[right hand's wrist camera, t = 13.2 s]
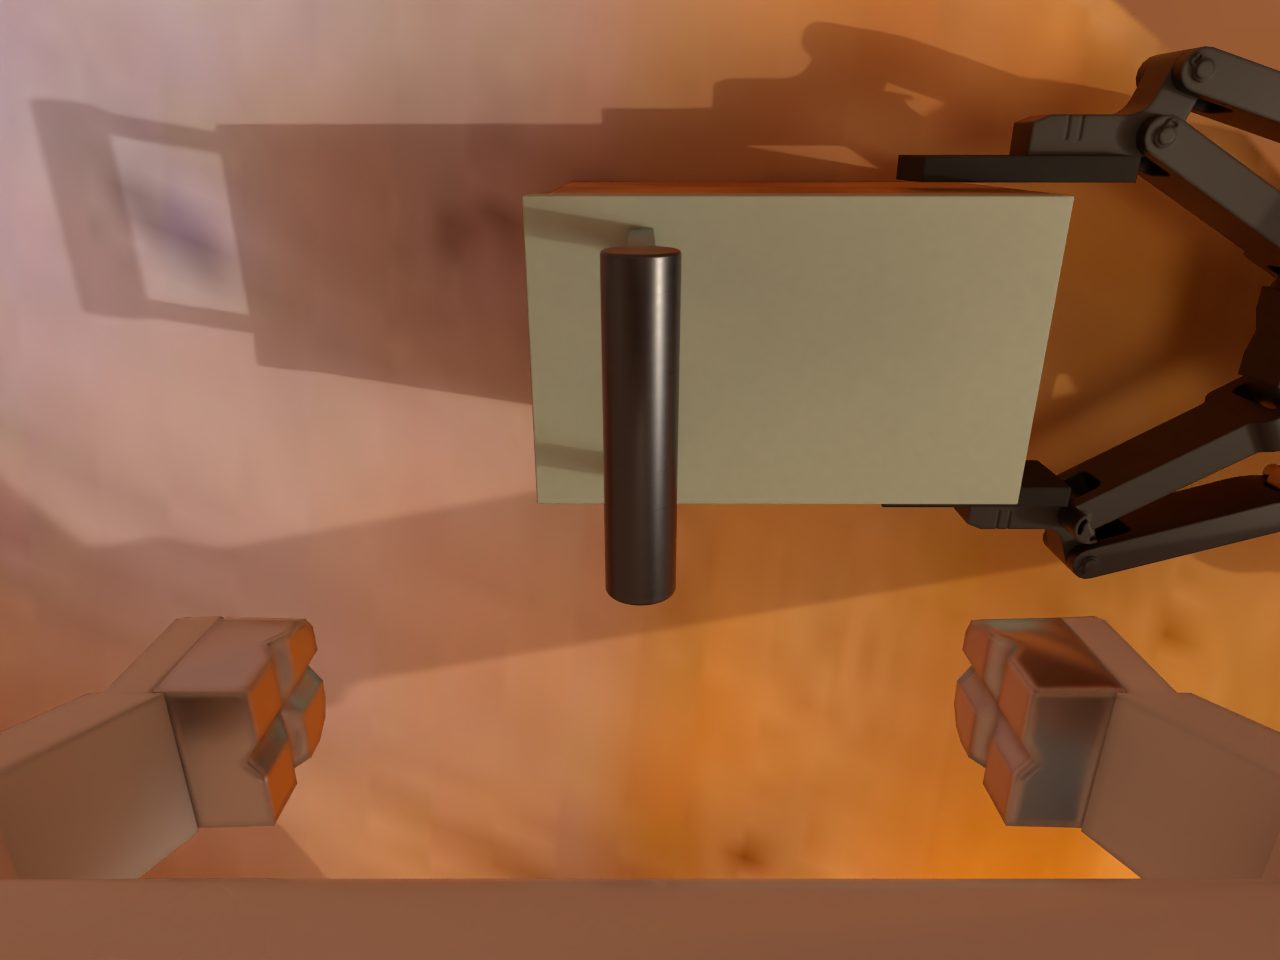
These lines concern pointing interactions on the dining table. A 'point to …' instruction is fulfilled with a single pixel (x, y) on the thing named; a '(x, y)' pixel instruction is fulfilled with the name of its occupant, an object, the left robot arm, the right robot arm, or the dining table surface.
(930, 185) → the chest
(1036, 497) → the left robot arm
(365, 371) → the dining table surface
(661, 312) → the lid
